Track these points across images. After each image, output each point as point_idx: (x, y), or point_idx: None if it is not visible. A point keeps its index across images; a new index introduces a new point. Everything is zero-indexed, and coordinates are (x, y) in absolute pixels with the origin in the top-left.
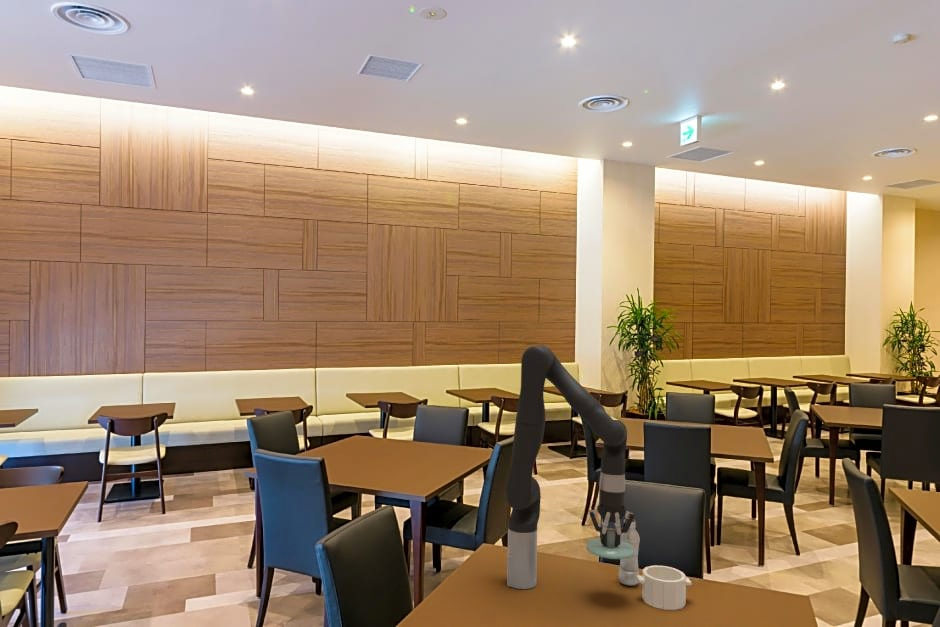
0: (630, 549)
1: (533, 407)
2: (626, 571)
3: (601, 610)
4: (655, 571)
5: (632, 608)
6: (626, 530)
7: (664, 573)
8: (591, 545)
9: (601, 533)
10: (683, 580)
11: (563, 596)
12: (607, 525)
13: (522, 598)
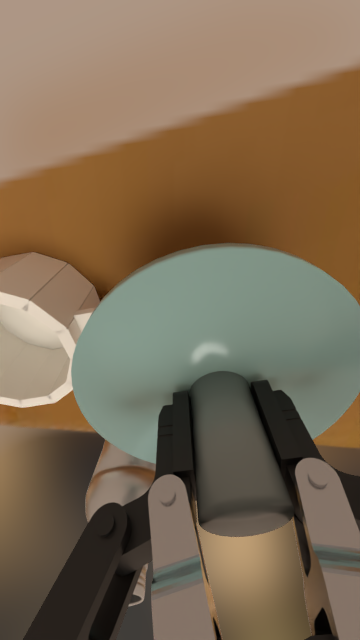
0: (96, 388)
1: None
2: None
3: (219, 190)
4: (52, 384)
5: (123, 234)
6: (94, 534)
7: (28, 384)
8: (336, 378)
9: (324, 462)
10: None
11: (322, 260)
12: (327, 579)
13: None
